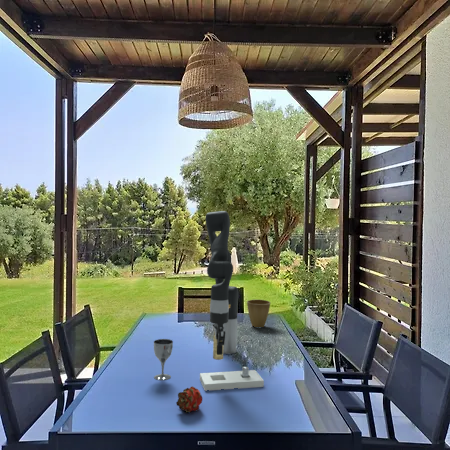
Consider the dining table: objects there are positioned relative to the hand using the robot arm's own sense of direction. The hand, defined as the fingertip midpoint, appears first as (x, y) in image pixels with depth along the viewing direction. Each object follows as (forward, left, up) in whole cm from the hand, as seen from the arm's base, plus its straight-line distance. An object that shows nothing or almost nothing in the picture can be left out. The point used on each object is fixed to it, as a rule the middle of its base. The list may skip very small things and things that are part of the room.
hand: (218, 352), depth 167 cm
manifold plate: (0, +6, -13) cm, 14 cm away
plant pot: (-88, +45, -13) cm, 100 cm away
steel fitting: (0, +12, -13) cm, 17 cm away
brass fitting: (0, 0, -2) cm, 2 cm away
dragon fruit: (+21, -14, -13) cm, 29 cm away
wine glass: (-11, -21, -13) cm, 27 cm away
